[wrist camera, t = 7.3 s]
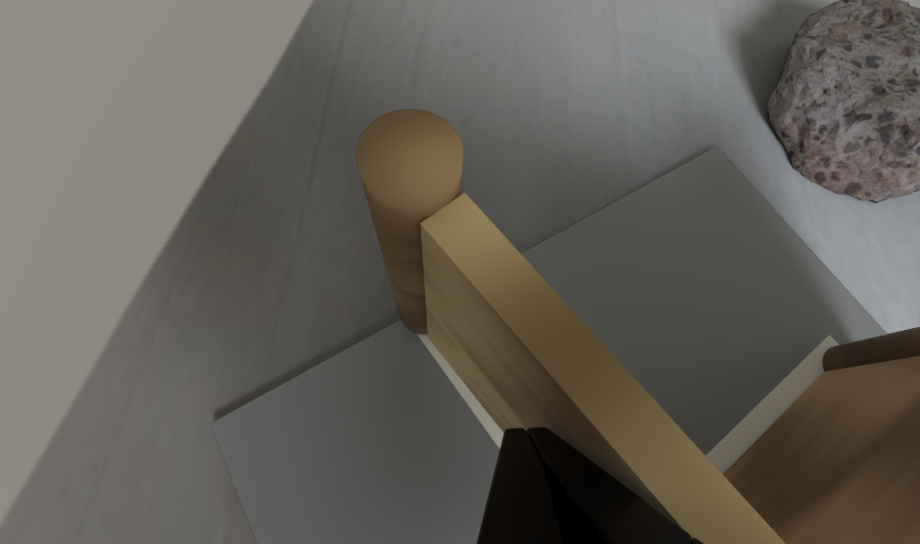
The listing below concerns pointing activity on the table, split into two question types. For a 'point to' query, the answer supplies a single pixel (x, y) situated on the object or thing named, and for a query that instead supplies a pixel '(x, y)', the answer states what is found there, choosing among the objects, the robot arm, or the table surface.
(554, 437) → the robot arm
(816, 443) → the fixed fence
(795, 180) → the table surface
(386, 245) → the swing panel
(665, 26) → the table surface
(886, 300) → the table surface
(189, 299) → the table surface
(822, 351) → the card
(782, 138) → the rock
